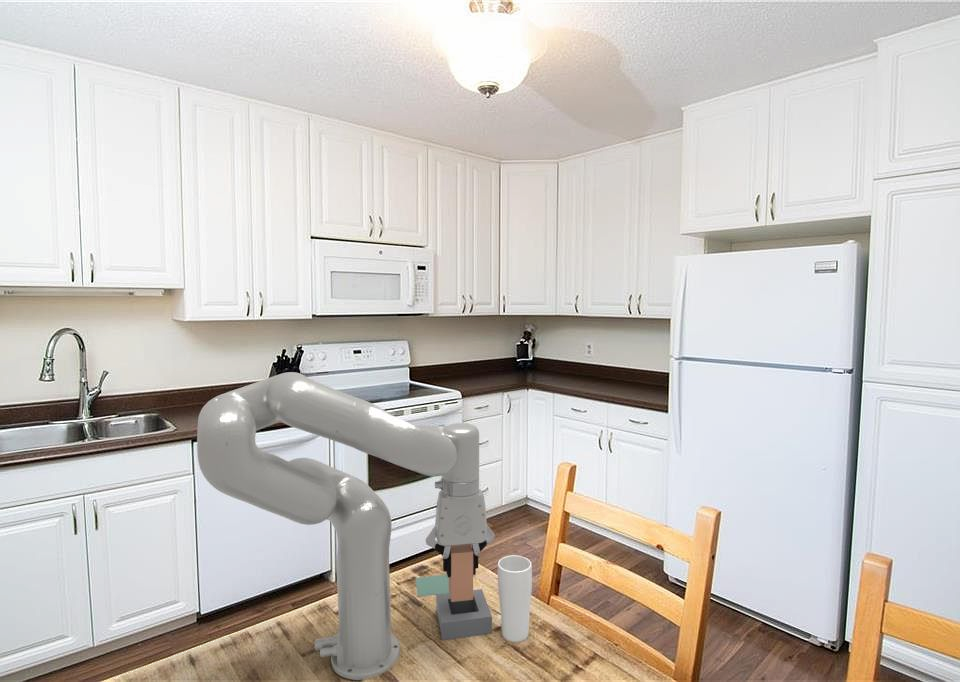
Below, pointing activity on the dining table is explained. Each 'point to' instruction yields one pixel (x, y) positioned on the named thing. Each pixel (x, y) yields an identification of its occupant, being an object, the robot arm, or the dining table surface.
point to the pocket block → (463, 616)
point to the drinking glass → (515, 596)
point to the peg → (461, 573)
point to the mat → (432, 585)
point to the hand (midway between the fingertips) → (460, 571)
